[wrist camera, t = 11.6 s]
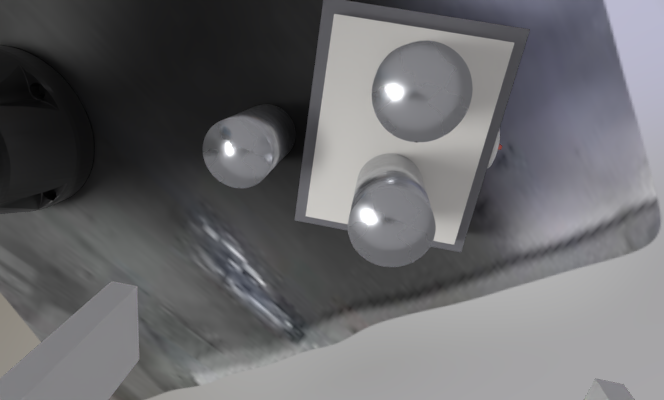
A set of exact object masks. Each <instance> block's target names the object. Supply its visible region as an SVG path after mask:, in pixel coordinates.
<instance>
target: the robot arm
mask: <svg viewBox="0 0 664 400" xmlns="http://www.w3.org/2000/svg"><path fill="white" fill-rule="evenodd" d="M93 158H94V141H93V134H92V129H91V125H90V122H89V119H88V117H87V114H86V112H85V110H84V107H83V106H82V104H81V102H80V100H79V98H78V97H77V95H76V94H75V92H74V91H73V89H72V88H71V87H70V86H69V84H68V83H67V82H66V81H65V80H64V79H63V78H62V77H61V76H60V74H58V73H57V72H56V71H55V70H54V69H53V68H52V67H50V66H49V65H48V64H46V63H45V62H44V61H42V60H41V59H39V58H37V57H35V56H34V55H32V54H30V53H27V52H25V51H23V50H20V49H17V48H13V47H9V46H1V45H0V214H5V213H17V212H28V211H36V210H40V209H44V208H47V207H50V206H52V205H54V204H56V203H59V202H61V201H63V200H65V199H67V198H69V197H71V196H72V195H74V194H75V193H76V192H77V191H78V190H79V189H80V188H81V187H82V186H83V185H84V183H85V182H86V180H87V178H88V176H89V174H90V171H91V168H92V164H93ZM138 360H139V334H138V301H137V286H134V285H129V284H124V283H119V282H114V281H111V282H110V283H109V284H108V285H107V286H106V287H104V288H103V289H102V290H101V291H100V292H99V293H98V294H96V295H95V296H94V297H93V298H92V299H91V300H89V301H88V302H87V303H86V304H85V305H84V306H83V307H81V308H80V309H79V310H78V311H77V312H76V313H75V314H73V315H72V316H71V317H70V318H69V319H68V320H67V321H65V322H64V323H63V324H62V325H61V326H60V327H58V328H57V329H56V330H55V331H54V332H53V333H52V334H50V335H49V336H48V337H47V338H46V339H45V340H44V341H42V342H41V343H40V344H39V345H38V346H37V347H36V348H34V350H32V351H31V352H30V353H29V354H27V355H26V356H25V357H24V358H23V359H22V360H21V361H20V362H18V363H17V364H16V365H15V366H14V367H13V368H11V369H10V370H9V371H8V372H7V373H6V374H5V375H3V376H2V377H1V378H0V400H108V399H109V398H110V397H111V395H112V394H113V393H114V392H115V390H116V389H117V388H118V386H119V385H120V384H121V383H122V381H123V380H124V379H125V377H126V376H127V375H128V373H129V372H130V371H131V370H132V368H133V367H134V366H135V364H136V363H137V362H138ZM584 400H635V399H634V398H633V397H632V395H631V394H630V392H629V391H628V390H627V388H626V387H625V386H624V384H620V383H615V382H610V381H605V380H600V379H595V380H594V382H593V384H592V386H591V388H590V389H589V391H588V393H587V395H586V397H585V399H584Z"/></svg>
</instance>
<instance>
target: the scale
mask: <svg viewBox="0 0 664 400" xmlns="http://www.w3.org/2000/svg"><path fill="white" fill-rule="evenodd" d="M529 31H530V29H524V28H518V27H511V26H505V25H499V24H492V23H486V22H480V21H473V20H467V19H461V18H455V17H448V16H442V15H436V14H429V13H423V12H417V11H410V10H404V9H398V8H391V7H385V6H379V5H372V4H366V3H360V2H353V1H347V0H323V6H322V14H321V21H320V29H319V37H318V44H317V52H316V60H315V67H314V75H313V83H312V90H311V98H310V106H309V113H308V121H307V129H306V136H305V144H304V152H303V159H302V167H301V175H300V182H299V190H298V198H297V205H296V213H295V220H296V221H301V222H307V223H312V224H317V225H322V226H327V227H333V228H338V229H343V230H348V220H349V215H350V211H351V206H352V201H353V197H354V192H355V187H356V183H357V178H358V175H359V172H360V170H361V169H362V167H363V166H364V165H365V164H366V163H367V162H368V161H369V160H370V159H372V158H374V157H376V156H378V155H381V154H387V153H393V154H399V155H402V156H405V157H406V158H408V159H410V160H411V161H412V162H413V163H414V164H415V165H416V166H417V167H418V169H419V171H420V173H421V175H422V178H423V182H424V185H425V188H426V192H427V195H428V198H429V202H430V205H431V208H432V212H433V215H434V219H435V225H436V230H435V236H434V240H433V242H432V244H431V247H436V248H441V249H446V250H451V251H457V252H461V251H462V248H463V244H464V241H465V238H466V235H467V232H468V228H469V225H470V222H471V219H472V215H473V212H474V209H475V206H476V202H477V199H478V196H479V193H480V190H481V186H482V183H483V180H484V177H485V173H486V170H487V169H488V168H489V167H490V166H491V165H492V163H493V161H494V159H495V157H496V154H497V151H498V149H500V150H501V148H502V145H501V144H499V142H500V129H499V128H500V125H501V122H502V118H503V115H504V112H505V109H506V105H507V102H508V99H509V96H510V93H511V89H512V86H513V83H514V80H515V76H516V73H517V70H518V67H519V63H520V60H521V57H522V54H523V51H524V47H525V44H526V41H527V38H528V34H529ZM416 41H435V42H439V43H442V44H445V45H447V46H449V47H450V48H452V49H453V50H455V51H456V52H457V53H458V54H459V55H460V56H461V57H462V58H463V60H464V61H465V63H466V64H467V66H468V68H469V71H470V74H471V78H472V86H473V91H472V99H471V103H470V106H469V109H468V111H467V113H466V115H465V116H464V118H463V119H462V121H461V122H460V123H459V124H458V126H456V127H455V128H454V129H453V130H452V131H451V132H449V133H448V134H446V135H445V136H443V137H441V138H439V139H436V140H433V141H429V142H409V141H405V140H402V139H400V138H397V137H396V136H394V135H392V134H391V133H390V132H388V131H387V130H386V129H385V128H384V127H383V126H382V124H381V123H380V122H379V120H378V118H377V116H376V114H375V112H374V108H373V104H372V85H373V81H374V78H375V75H376V72H377V70H378V67H379V65H380V63H381V62H382V60H383V59H384V58H385V57H386V56H387V54H389V53H390V52H391V51H392V50H394V49H396V48H398V47H400V46H403V45H406V44H409V43H412V42H416Z"/></svg>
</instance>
